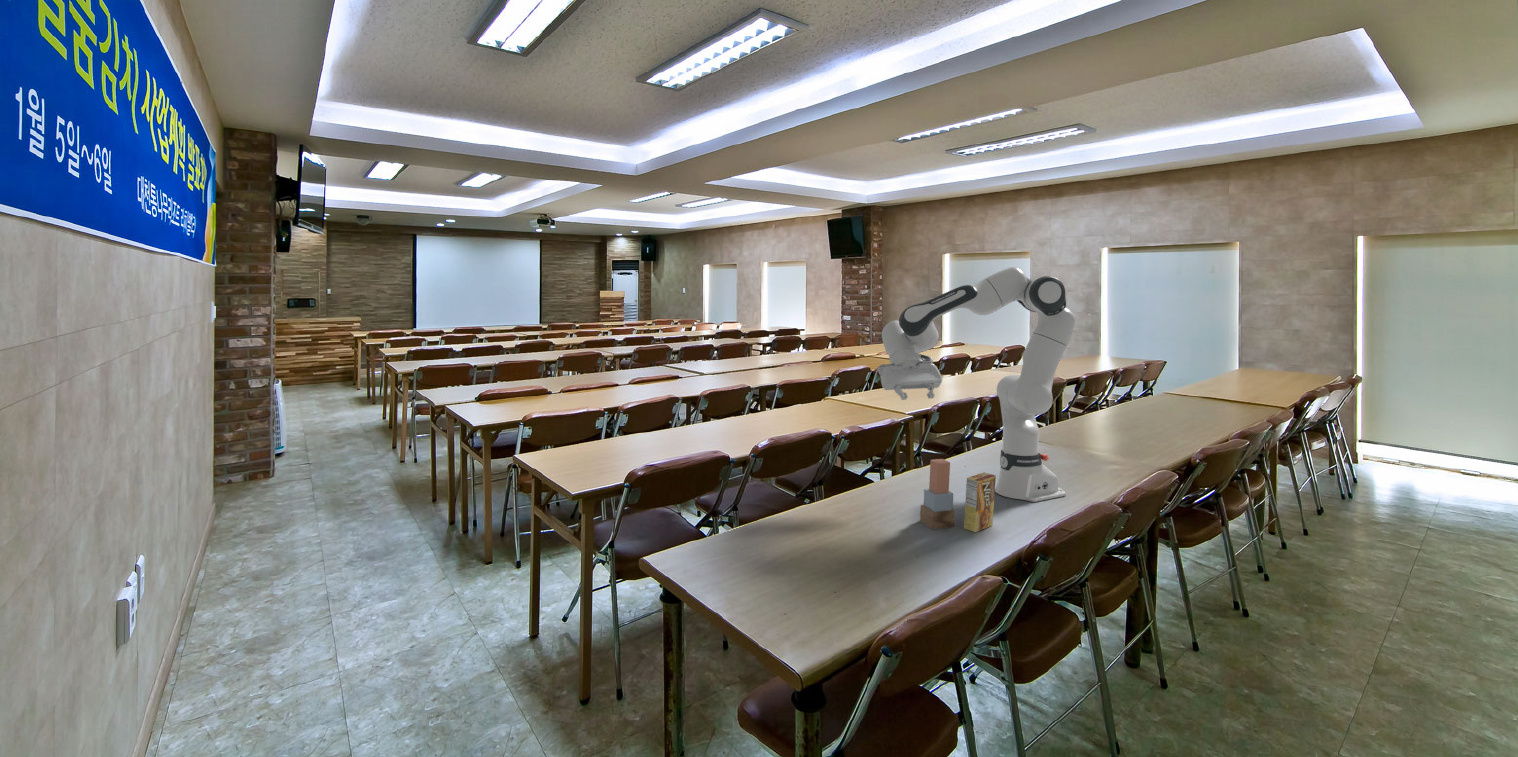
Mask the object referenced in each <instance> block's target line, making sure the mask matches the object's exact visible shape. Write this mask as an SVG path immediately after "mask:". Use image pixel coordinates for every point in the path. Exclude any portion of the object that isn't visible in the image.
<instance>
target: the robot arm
mask: <svg viewBox="0 0 1518 757" xmlns="http://www.w3.org/2000/svg"><path fill="white" fill-rule="evenodd" d="M1015 301H1016V302H1018V303H1019V304H1020V305H1021V306H1022V307H1023V308H1024V309H1026V310H1028V311H1029V312H1032V313H1033V312H1034V313H1037V315H1038V318H1037V325H1036V326H1035V328H1034V330H1033V332H1032V334H1031V336H1030V338H1029V340H1028V343H1027V344H1026V346H1025V349H1024V351H1023V353H1022V367H1021V372H1020V374H1012V375H1011V374H1009V375H1007V376H1004V377H1002V378H1001V379H1000V380H999V381H998V382H997V386H996V394H997V396H998V399H999V404H1000V412H1001V419H1002V420H1001V421H1002V446H1001V447H1002V448H1001V449H1000V457H999V462H1000V463H999V464H1000V465H999V466H1000V469H999V475H998V479H997V482H996V484H995V493H996V494H998V495H1001V496H1003V497H1005V498H1009V499H1016V500H1023V501H1027V502H1028V501H1029V502H1032V503H1033V502H1041V501H1046V500H1051V499H1055V498H1056V499H1057V498H1061V497H1066V491H1065V490H1064V489H1062V488H1061V487H1059V479H1058V476H1057V475H1056V474H1055V473H1054V472H1053V471H1051V470H1050V469H1049V468H1048V467H1047V466H1046V465H1044V464H1043V462H1042V461H1044V462H1047V461H1049V458H1050V456H1049V455H1047V454H1045V453H1042V454H1041V453H1040V452H1039V443H1040V442H1039V441H1040V440H1039V439H1040V430H1039V429H1040V428H1039V426H1038V424H1037V420H1036V416H1039V415H1043V414H1045V413H1046V412H1049V411H1050V408H1052V405H1053V400H1054V398H1053V392H1052V390H1053V384H1054V378H1055V374H1056V371H1057V368H1058V366H1059V364H1060V361H1061V359H1062V357H1063V355H1064V353H1065V351H1066V349H1067V346H1068V344H1069V343H1070V340H1071V336H1072V335H1073V332H1074V328H1075V325H1076V316H1075V313H1073V312H1072V311H1071V310H1070V309H1069V308H1066V307H1067V299H1066V288H1065V285H1064V283H1063V282H1062V281H1061V280H1060V279H1059V278H1058V277H1055V276H1051V275H1044V276H1039V277H1036V278H1033V279H1030V278H1028V277H1027V276H1026V274H1025V273H1024V271H1023V270H1021V269H1020V268H1019V267H1016V266H1010V267H1007V268H1005V269H1002V270H999V271H997V272H995V273H992V274H991V275H989V276H987V277H986V278H985V277H984V279H982V280H979V281H978V282H976V283H973V284H966V285H965V284H964V285H961V286H958V287H956V288H953V289H951V290H948V291H946V292H944V293H943V294H942V293H941V294H940V295H938V296H935V297H933V298H931V299H928V300H926V301H924V302H919V303H916V304H912V305H909V306H908V307H906V308H905V309H904V310H903V311H902V312H901V314H899V315H900V316H899V318H898V319H897V320H896V319H895V320H892V321H889V322H888V323H886V324H885V326H884V327H883V329H882V332H881V339H882V342H883V346H884V349H885V352H886V353H887V355H888V361H889V363H887V364H886V363H885V364H884V363H883V364H880V365H878V367H877V372H878V375H879V376H880V383H881V387H882V388H883V390H885V391H894V393H895V394H896V395H897V396H899V397H900V400H901V401H904V400H905V401H906V400H907V399H908V394H907V392H904V391H903V390H916V389H917V390H918V389H927V390H928V392H927V394H926V396H927V398H928V400H929V399H934V398H935V393H934V390H935V389H938V388H939V387H940V385H941V384H942V382H943V377H942V374H941V372H940V370H939V369H938V366H937V365H935V364H934V359H933V357H932V356H929V355H925V354H922V353H923V352H926V351H929V350H932V349H933V348H935V347H936V345H937V344H938V342H939V340H940V334H939V331H938V329H937V327H936V324H935V323H934V320H935V319H937V318H940V317H942V316H943V315H947V314H948V313H950V312H952V311H955V310H956V309H965V310H969V311H971V313H973V314H976V315H978V316H988V315H990V314H993V313H995V312H997V311H999V310H1000V309H1002V308H1004V307H1006V306H1007V305H1009V304H1011V303H1013V302H1015Z"/></svg>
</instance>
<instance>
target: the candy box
mask: <svg viewBox="0 0 1518 757" xmlns="http://www.w3.org/2000/svg"><path fill="white" fill-rule="evenodd" d="M996 477H997V476H996V475H995V474H993V473H988V472H981V473H978V474H975V475H971V476H968V477H966V485H965V486H966V487H965V488H966V489H965V504H964V518H963V519H964V522H963V529H964V530H966V531H967V530H968V531H970V532H973V533H977V532H980V531H983V530H984V529H987V528H989V527H992V526H993V522H994V509H995V508H994V507H995V496H996V495H995V493H996V492H995V488H996V480H997V479H996Z"/></svg>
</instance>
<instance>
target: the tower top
mask: <svg viewBox="0 0 1518 757" xmlns="http://www.w3.org/2000/svg"><path fill="white" fill-rule="evenodd" d="M923 505H924V506H926V507H927V508H929V509H930V510H932V511H933V512H939V511H948V510H954V493H953V492H951V491H950V490H949V493H939V494H936V493H934V492H933V491H931V490H929V488H924V489H923Z"/></svg>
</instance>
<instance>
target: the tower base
mask: <svg viewBox="0 0 1518 757" xmlns="http://www.w3.org/2000/svg"><path fill="white" fill-rule="evenodd" d="M919 510H920V513H919V514H920V515H919V516H920V517H919V521H920V522H921V521H922V522H921V523H923V524H924V523H925V524H924V525H925V526H927V525H928V526H929V528H930V529H932V530H934V529H935V530H937V529H936V528H938V529H945V528H946V527H947V528H952V527H953V528H954V526H955V510H954V509H953V510H948V511H939V512H933V511H932V510H930V509H929V508H927V507H926V506H924V504H920V509H919ZM928 526H927V527H928Z"/></svg>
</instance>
